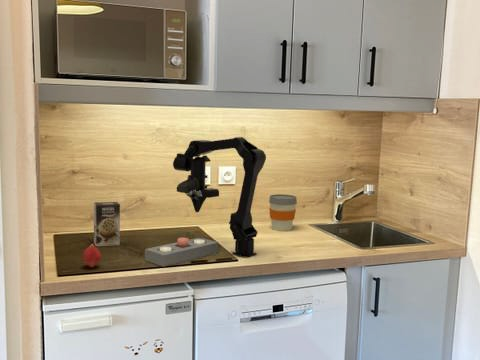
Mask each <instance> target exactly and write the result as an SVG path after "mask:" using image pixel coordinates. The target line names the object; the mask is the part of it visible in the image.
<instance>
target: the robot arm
mask: <svg viewBox="0 0 480 360" xmlns="http://www.w3.org/2000/svg"><path fill="white" fill-rule="evenodd" d="M230 149H235V150H236V152H237V154H238V156H239V157H241V158H242V159H243V160H242V168H243V171H244V177H243V181H242V186H241V192H240V198H239V201H238V205H237V210H236V211H235V212H232V213H230V219H229V223H228V224H229V229H230V231H231V234H232V237H233V240H235V243H234V244H235V246H234V251H233V252H232V254H233V255H235V256H239V257H242V258H249V257H251V256H255V255H257V253H256V252H254V249H255V238H257V235H258V231H257V229H256V228H255V226H254V225H253V216H252V213H251V210H252V205H253V201H254V194H255V190H256V186H257V180H258V176H259V174H260V173H261V170H262V169H263V168H264V165H265V163H266V159H267V156H266V153H265V151H264V150H262V149H260V148H258V147H257V146H256V145H254V144H253V143H251V142H249V141H248V140H247V139H246V138H245V137H243V136H237V137H233V138H232V137H231V138H227V139H219V140H205V139H203V140H202V139H197V140H191V141H190V142H189V144H188V147H187V148H186V150H185V151H184V153H182V152H181V153H179V152H178V153H176V156H175V158H174V159H173V162H172V166H173V169H174V170H175V171H181V172H190V174H188V175H187V179H186V180H183V181H181V182H179V183H178V184H177V185H176V192H178V193H180V194H181V193H182V194H183V193H184V194H185V195H186V196H188V198H190V201H191V203H192V206H193V209H194V211H195V213H200V210H201V208H202V206H203V204H204V203H205V201H206V199H207V198H209V199H210V198H217V197H220V191H219V189H218V188H213V187H209V188H208V185H206V179H208V177H209V176H208V174H207V175H206V163H207V162H211V159H210V158H209V157H208V156H207V154H210V153H212V152H215V151H220V150H221V151H222V150H230Z"/></svg>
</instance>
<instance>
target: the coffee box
mask: <svg viewBox="0 0 480 360" xmlns="http://www.w3.org/2000/svg"><path fill="white" fill-rule="evenodd" d="M120 223H121V204H120V203H119V202H118V201H103V202H102V201H101V202H94V203H93V245H94V247H107V246H108V247H110V246H120V245H121V244H120V243H121V242H120V239H121V235H120V234H121V233H120V232H121V231H120V229H121V224H120Z"/></svg>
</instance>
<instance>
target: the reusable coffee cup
mask: <svg viewBox="0 0 480 360" xmlns="http://www.w3.org/2000/svg"><path fill="white" fill-rule="evenodd" d="M297 199H298V198H297V196H295V195H292V194H275V193H274V194H271V195H270V196H269V199H268V200H269V201H268V202H269V218H270V223H271V229H272V230H273V231H277V232H290V231H292V230H293V229H292V227H293V221H294V220H295V217H296V211H297V209H296V206H297Z"/></svg>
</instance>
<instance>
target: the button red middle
mask: <svg viewBox="0 0 480 360" xmlns="http://www.w3.org/2000/svg"><path fill="white" fill-rule="evenodd" d="M189 240H190V239H189V238H188V237H178V238H177V240H176V241H177V247H180V248H185V247H188V246H189Z"/></svg>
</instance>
